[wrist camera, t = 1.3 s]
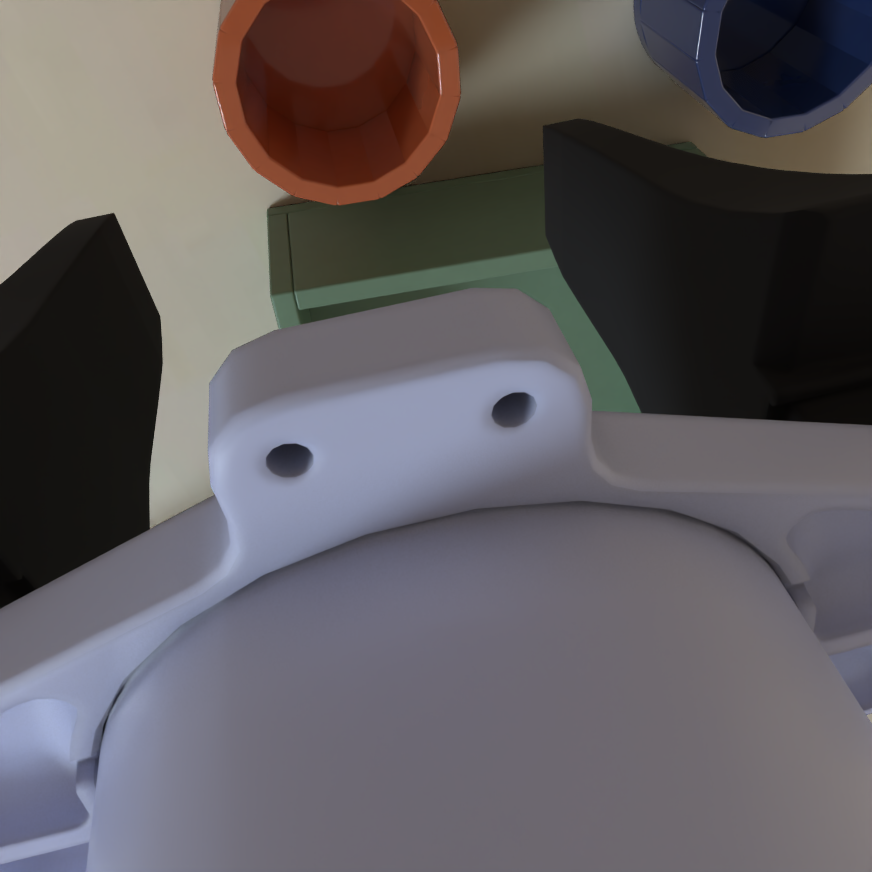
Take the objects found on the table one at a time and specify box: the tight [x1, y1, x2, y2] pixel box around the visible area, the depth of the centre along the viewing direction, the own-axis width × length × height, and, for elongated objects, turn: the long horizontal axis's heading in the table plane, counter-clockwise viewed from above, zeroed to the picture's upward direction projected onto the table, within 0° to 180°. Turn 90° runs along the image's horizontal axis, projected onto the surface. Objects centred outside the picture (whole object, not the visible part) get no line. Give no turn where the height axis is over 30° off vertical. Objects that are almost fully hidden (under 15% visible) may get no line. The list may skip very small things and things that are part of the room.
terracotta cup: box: [212, 0, 461, 205], centre depth 19 cm, size 5×5×4 cm
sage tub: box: [267, 142, 707, 413], centre depth 28 cm, size 13×17×5 cm
